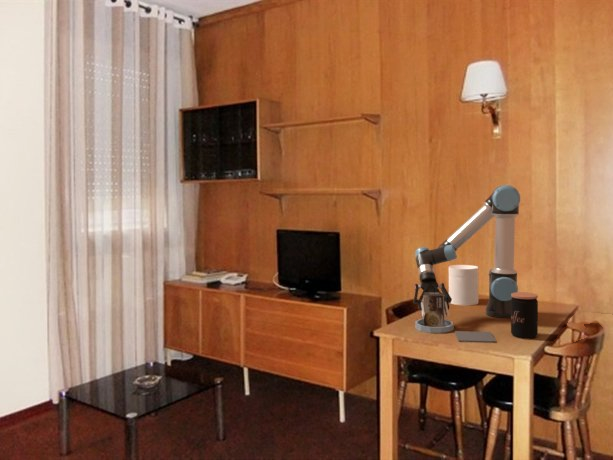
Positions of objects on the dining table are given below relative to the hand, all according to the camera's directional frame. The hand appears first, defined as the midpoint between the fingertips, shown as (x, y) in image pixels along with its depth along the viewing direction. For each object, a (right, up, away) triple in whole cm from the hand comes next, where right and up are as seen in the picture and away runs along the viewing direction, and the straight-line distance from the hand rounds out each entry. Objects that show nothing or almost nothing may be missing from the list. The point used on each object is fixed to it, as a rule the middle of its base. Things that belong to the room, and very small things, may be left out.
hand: (435, 315), depth 234 cm
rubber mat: (+14, -7, -13) cm, 20 cm away
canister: (+29, -2, +54) cm, 62 cm away
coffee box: (0, -6, +4) cm, 7 cm away
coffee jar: (+35, -7, -13) cm, 38 cm away
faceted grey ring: (0, -6, +3) cm, 7 cm away
